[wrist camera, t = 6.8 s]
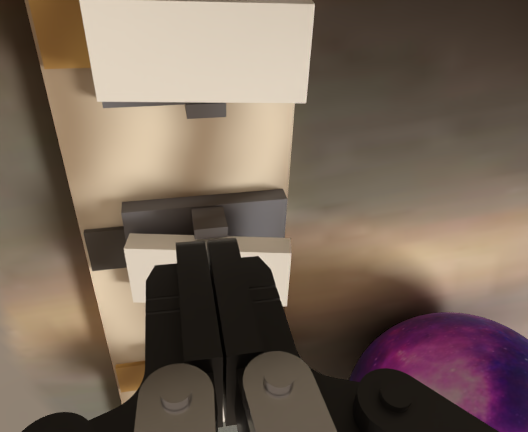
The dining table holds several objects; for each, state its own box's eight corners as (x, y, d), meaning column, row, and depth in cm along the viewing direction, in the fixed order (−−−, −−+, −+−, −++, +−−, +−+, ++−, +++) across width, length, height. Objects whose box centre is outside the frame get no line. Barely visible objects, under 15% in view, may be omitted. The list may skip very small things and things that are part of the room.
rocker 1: (309, -3, 17) (314, 4, 16) (301, 92, 19) (306, 103, 18) (87, -8, 17) (79, -2, 16) (103, 90, 19) (97, 101, 18)
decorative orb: (518, 254, 34) (721, 454, 22) (468, 379, 43) (594, 571, 31) (321, 285, 32) (428, 530, 20) (311, 411, 40) (381, 633, 28)
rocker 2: (290, 238, 23) (291, 253, 22) (286, 290, 25) (286, 306, 24) (129, 233, 23) (123, 248, 22) (138, 286, 25) (133, 302, 24)
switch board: (304, -125, 18) (336, -127, 15) (269, 388, 37) (280, 433, 34) (-2, -140, 16) (-36, -145, 13) (127, 411, 35) (125, 461, 32)
